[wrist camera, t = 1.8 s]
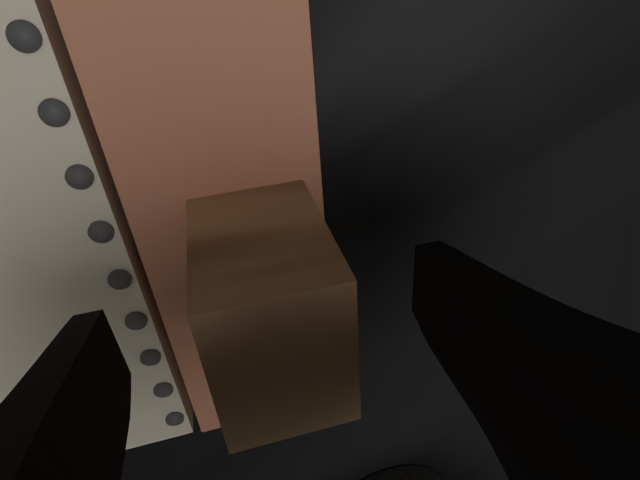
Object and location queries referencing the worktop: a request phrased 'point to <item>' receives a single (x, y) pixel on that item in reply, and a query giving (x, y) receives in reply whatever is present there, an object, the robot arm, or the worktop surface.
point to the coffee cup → (405, 473)
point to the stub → (226, 203)
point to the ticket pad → (70, 228)
